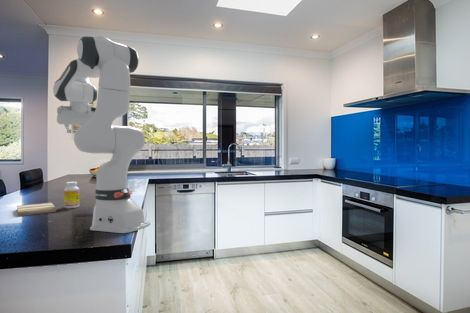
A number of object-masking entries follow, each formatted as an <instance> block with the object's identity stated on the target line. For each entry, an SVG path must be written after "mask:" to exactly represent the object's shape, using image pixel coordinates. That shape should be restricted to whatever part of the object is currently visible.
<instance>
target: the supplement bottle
mask: <svg viewBox="0 0 470 313" xmlns="http://www.w3.org/2000/svg"><path fill="white" fill-rule="evenodd" d="M65 185H66V186H65V187H64V189H63V192H64V194H63V196H64V197H63V208H64V209H75V208H79V207H80V187H78V186H77V185H78V181H67V182H66V184H65Z"/></svg>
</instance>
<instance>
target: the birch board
mask: <svg viewBox="0 0 470 313" xmlns="http://www.w3.org/2000/svg"><path fill="white" fill-rule="evenodd" d="M16 212H17V216H18V217H24V216H30V215H31V216H32V215H40V214H48V213H57V207H56V206H55V205H54V204H53V203H52V202H44V203H43V202H42V203H33V204H31V203H30V204H23V205H16Z"/></svg>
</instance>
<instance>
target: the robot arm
mask: <svg viewBox="0 0 470 313" xmlns="http://www.w3.org/2000/svg"><path fill="white" fill-rule="evenodd" d="M76 46H77V47H76V53H77V57H78V58H77V59H73V60H71V61H70V62H69V64H68V65H67V66H66V67H65V69H64V71H63V72H62V74H61V75H60V76H59V78H58V79H57V80H56V81H55V82H54V85H53V88H52V92H53V96H54V97H55V98H56V99H57V100H59V101H60V102H69V105H60V106H58V107H57V109H56V114H57V116H56V122H57V123H58V124H59V125H64V127H65V129H66V133H67V134H71V133H72V129H70V128H69V127H70V125H72V126H75V125H76V126H79V127H78V128H77V129H76V130H75V132H74V134H73V141H74V145H75V146H76V149H77V150H78V151H80V152H82V153H87V154H88V153H89V154H93V155H94V154H95V155H96V154H112V156H111V158H110V160H108V161H107V162H105V163H102V164H101V165H100V166H98V168H97V169H96V175H95V176H96V188H95V191H94V195H95V196H94V199H95V200H96V202H95V205H94V206H93V214H92V223H91V226H90V227H89V230H90V231H94V232H95V231H97V232H106V233H107V232H108V233H117V234H127V233H131V232H136V231H139V230H142V229H145V228H148V227H150V226H151V221H149V220H146V219H145V215H144V214H145V213H144V210H143V208H141V207H140V206H139V205H138V204H137V203H136V202H135V200H133V198H131V195H133V193H132V192H133V190H130V189H129V187H128V174H129V173H128V172H129V167H130V164H131V162H132V160H133V158H134V157H135V156H136V155H137V154H138V153H140V152H141V151H142V150H143V148H144V147H145V144H146V137H145V134H144V132H143V131H142V130H141V129H140V128H136V127H132V126H127V125H113V123H114V121H115V120H116V119H118V118H121V117H123V116H125V115H126V114H127V113H128V112H129V110H130V99H131V74H132V73H134V72H135V71H136V70H137V69H138V66H139V61H140V60H139V54H138V52H137V50H136V49H135V48H134V47H131V46H130V45H124V44H122V43H118V42H115V41H112V40H111V39H109V38H108V37H106V36H104V35H97V36H89V35H88V36H82V37H81V38H80V39H79V41H78V42H77V45H76ZM91 78H98V87H96V85H94V84H92V83H91V80H90V79H91ZM95 101H96V106H93V105H91V104H90V103H94V102H95Z"/></svg>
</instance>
